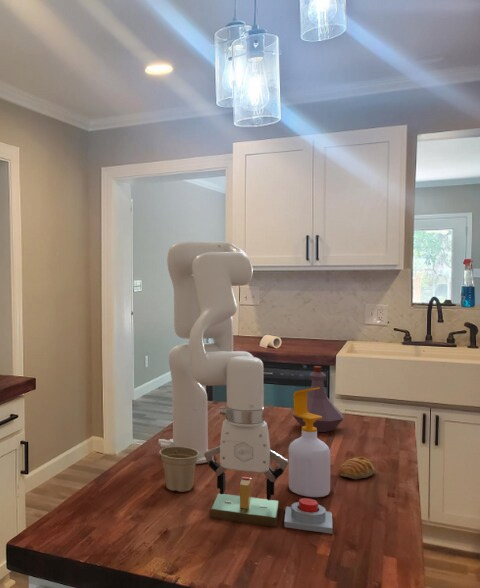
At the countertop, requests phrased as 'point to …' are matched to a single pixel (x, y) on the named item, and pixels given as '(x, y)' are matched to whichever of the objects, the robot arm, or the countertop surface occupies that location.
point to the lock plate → (245, 510)
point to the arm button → (308, 505)
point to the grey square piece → (308, 519)
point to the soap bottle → (308, 454)
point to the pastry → (357, 468)
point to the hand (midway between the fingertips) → (245, 494)
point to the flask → (321, 405)
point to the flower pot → (179, 467)
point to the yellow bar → (245, 492)
